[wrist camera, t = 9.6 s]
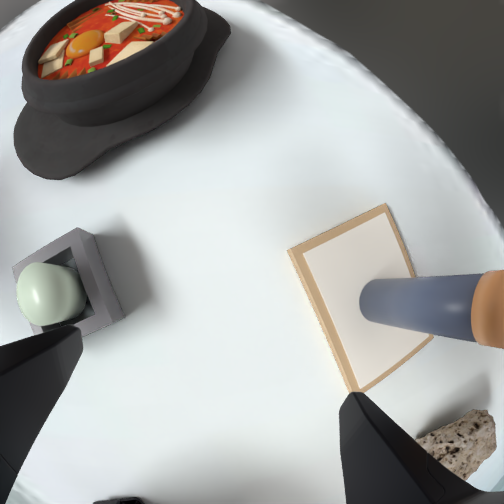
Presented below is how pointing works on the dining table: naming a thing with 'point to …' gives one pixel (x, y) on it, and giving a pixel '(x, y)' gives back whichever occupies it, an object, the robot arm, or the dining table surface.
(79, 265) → the gray square hollow block
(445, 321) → the toy microphone
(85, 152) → the casserole
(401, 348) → the sketch pad
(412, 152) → the dining table surface
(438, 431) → the pumice stone
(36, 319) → the button
